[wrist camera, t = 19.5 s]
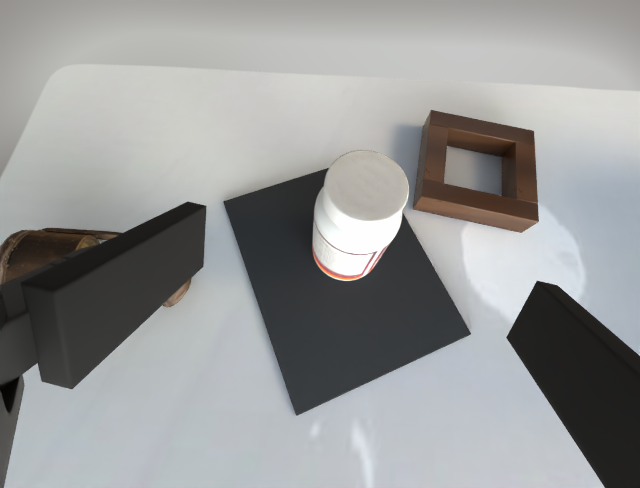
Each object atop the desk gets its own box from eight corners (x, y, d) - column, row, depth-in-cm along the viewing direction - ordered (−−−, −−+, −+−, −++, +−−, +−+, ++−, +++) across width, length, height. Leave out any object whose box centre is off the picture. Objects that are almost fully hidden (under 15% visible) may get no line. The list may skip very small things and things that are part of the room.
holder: (521, 232, 31) (539, 221, 29) (412, 209, 32) (421, 196, 29) (519, 146, 35) (534, 130, 33) (422, 126, 36) (431, 109, 33)
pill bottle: (357, 211, 31) (385, 129, 20) (389, 265, 29) (439, 205, 18) (300, 236, 29) (298, 161, 19) (330, 294, 27) (346, 247, 17)
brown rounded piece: (38, 178, 25) (-91, 285, 19) (182, 215, 23) (85, 346, 17) (91, 233, 31) (3, 328, 25) (209, 266, 29) (143, 377, 23)
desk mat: (469, 334, 27) (471, 334, 27) (296, 415, 24) (296, 415, 24) (369, 156, 34) (370, 154, 33) (224, 203, 31) (223, 201, 30)
